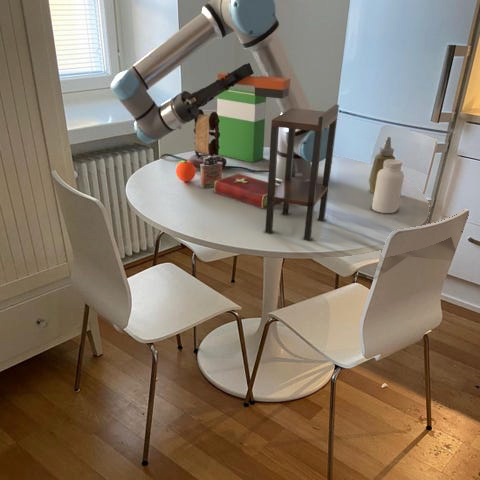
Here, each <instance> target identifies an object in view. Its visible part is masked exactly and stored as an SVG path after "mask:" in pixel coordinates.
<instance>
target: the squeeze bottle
mask: <svg viewBox="0 0 480 480" xmlns="http://www.w3.org/2000/svg"><path fill="white" fill-rule="evenodd" d="M394 151H395V149H394V148H392V138H391V136H387V137H386V139H385V141H384V144H383V146H382V147H379V149H378V153H377V154H376V155H375V156H374V160H373V163H372V166H371V169H370V170H371V171H370V174H369V178H368V184H369V190H370V192H371V193H373V194H374V192H375V186H376V180H377V174H378V172H379V171H380V170H381V169H383V164H384V161H385V160H387V159H395V160H396V157H395V156H394V153H395V152H394Z"/></svg>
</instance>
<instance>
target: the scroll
mask: <svg viewBox="0 0 480 480" xmlns="http://www.w3.org/2000/svg"><path fill="white" fill-rule="evenodd" d="M193 121H194V128H193V133H194V135H195V136H194V143H193V144H194V148H195V150H194V153H195V154H194V155H191V156H190V157H188V158H187V160H188V161H189V162H191V163H192V164H193V165H194V167H195V169H201V167H200V164H203V163H204V161H203V158H206V157H208V156H212V157H213V156H218V155H219V153H218V152H219V151H218V150H219V148H220V147H219V140H218V139H219V137H220V133H219V132H218V131H219V127H218V125H219V124H218V123H219V122H220V120H219V118H218V114H217V111H212V112H211V113H210V114H209V115H206V114H205V113H204V111H203V110H202V109H201V108H199V115H198V117H197V118H195V119H193ZM210 136H211V137H214V138H213V139H212V140H211V141H210V142H209V140H210ZM219 156H220V157H221V160H217V162H222V167H223V166H227V158H225V156H223V155H219ZM214 162H215V160H214Z"/></svg>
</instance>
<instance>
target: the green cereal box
mask: <svg viewBox="0 0 480 480" xmlns="http://www.w3.org/2000/svg"><path fill="white" fill-rule="evenodd" d="M216 101H217V102H216V103H217V104H216V105H217V107H216V110H217V111H216V113H217V114H218V118H219V120H220V122H219V123H218V124H219V125H218V127H219V131H218V132H219V133H220V137H219V139H218V140H219V147H220V148H219V150H218V151H219V152H218V153H219V155H220V156H222V157H228V158H232V159H237V160H241V161H245V162H249V163H255V162H257V161H260V160H262V159H264V151H265V150H264V149H265V145H264V144H265V130H266V129H265V128H266V109H267V108H266V106H267V97H261V96H255V90H247V89H240V88H234V87H231V88H229V90H228V91H224V92H222V93H221V94H219V95H217V96H216Z"/></svg>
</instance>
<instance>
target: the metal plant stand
mask: <svg viewBox="0 0 480 480" xmlns="http://www.w3.org/2000/svg"><path fill="white" fill-rule="evenodd" d="M339 107H340V105H339V104H334V105H332V106H331V107H330V108H328V109H327V110H326V111H325V110H318V111H315V110H306V109H296V108H291V109H290V110H288V111H286V112H284V113H283V114H281V115H280V114H279V115H278V116H276V117H274V118H272V119H271V125H270V141H269V157H268V159H269V161H268V170H269V172H268V176H267V182H268V193H267V207H266V211H265V212H266V213H265V231H264V232H265V233H267V234H271V233H272V232H273V227H274V226H273V225H274V212H275V211H274V209H275V204H274V201H276V202H278V203H282V212H281V214H282V215H284V216H288V215H289V214H290V205H295V206H301V207H306V213H305V214H306V215H305V223H304V235H303V240H304V241H310V240H311V238H312V232H313V231H312V230H313V224H314V223H313V222H314V213H315V206H316V205H317V203H318V202H320V203H319V210H318V211H319V212H318V219H317V220H318V221H320V222H324V221H325V219H326V212H327V204H328V195H329V188H330V181H331V171H332V164H333V155H334V148H335V140H336V132H337V124H338V116H339ZM279 127H283V128H289V131H288V145H287V158H286V171H285V180H284V181H283V182H282V183H279V184H278V185H279V186H278V187H277V188H275V184H276V166H277V150H278V135H279ZM326 127H329V133H328V142H327V150H326V158H325V159H324V169H323V177H322V183H321V182H318V179H319V167H320V162H319V160H320V151H321V142H322V133H323V130H324V129H325V128H326ZM296 129H300V130H309V131H315V136H314V145H313V155H312V163H311V174H310V182H307V181H300V180H294V179H292V167H293V155H294V142H295V130H296Z"/></svg>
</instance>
